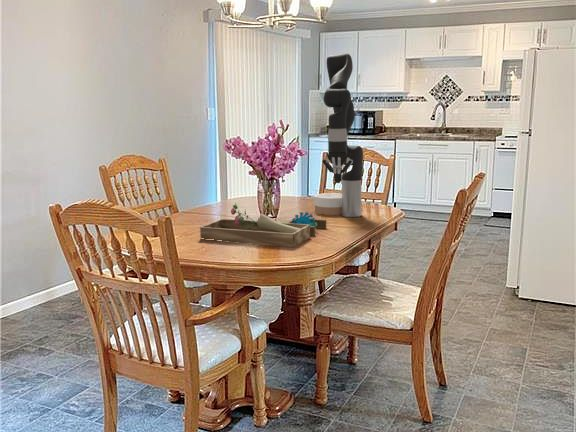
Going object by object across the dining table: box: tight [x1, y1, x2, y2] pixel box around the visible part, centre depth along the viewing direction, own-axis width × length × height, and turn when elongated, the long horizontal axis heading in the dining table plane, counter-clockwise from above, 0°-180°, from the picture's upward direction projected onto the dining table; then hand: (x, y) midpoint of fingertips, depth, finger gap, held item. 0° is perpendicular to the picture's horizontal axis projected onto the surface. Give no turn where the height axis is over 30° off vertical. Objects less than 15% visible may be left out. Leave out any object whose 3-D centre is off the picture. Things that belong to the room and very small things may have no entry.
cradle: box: [285, 217, 327, 236], centre depth 243 cm, size 16×14×4 cm
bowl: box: [314, 192, 342, 216], centre depth 285 cm, size 17×17×8 cm
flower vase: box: [230, 202, 300, 233], centre depth 233 cm, size 12×12×35 cm
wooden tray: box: [199, 218, 311, 248], centre depth 230 cm, size 18×40×5 cm, turn 68°
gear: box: [291, 211, 317, 231], centre depth 244 cm, size 11×6×10 cm
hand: (337, 182), depth 234 cm, fingers closed
